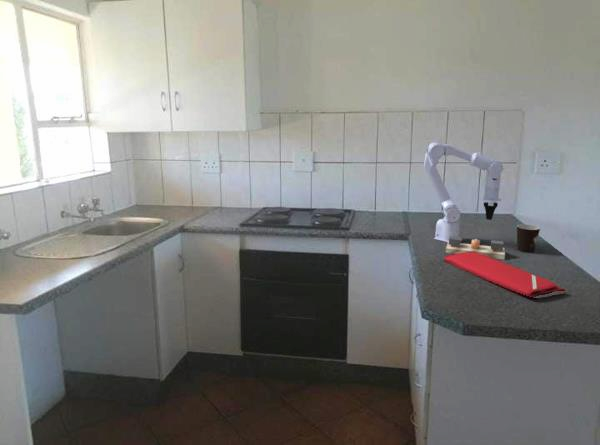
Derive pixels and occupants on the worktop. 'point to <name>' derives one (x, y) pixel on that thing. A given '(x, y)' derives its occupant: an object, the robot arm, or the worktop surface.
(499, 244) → the button
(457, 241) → the button
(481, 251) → the mount board
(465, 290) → the worktop surface
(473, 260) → the dish drying mat
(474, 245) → the orange knob
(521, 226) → the coffee mug
